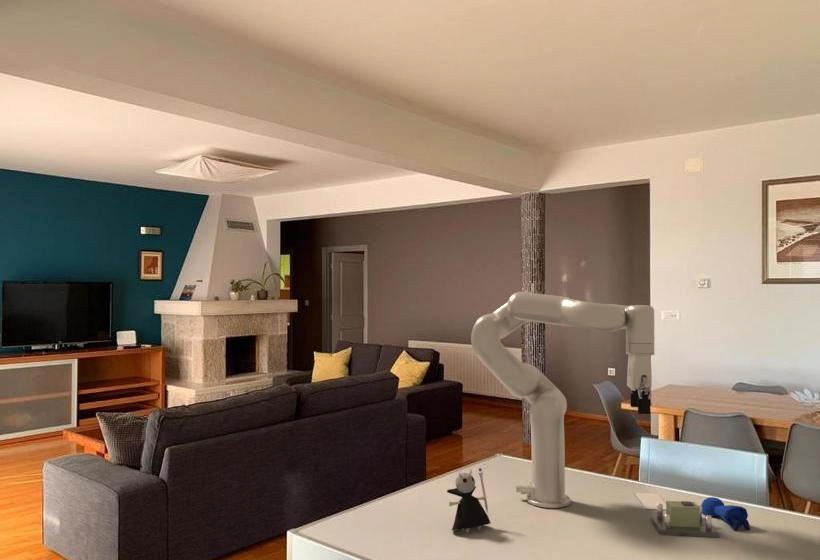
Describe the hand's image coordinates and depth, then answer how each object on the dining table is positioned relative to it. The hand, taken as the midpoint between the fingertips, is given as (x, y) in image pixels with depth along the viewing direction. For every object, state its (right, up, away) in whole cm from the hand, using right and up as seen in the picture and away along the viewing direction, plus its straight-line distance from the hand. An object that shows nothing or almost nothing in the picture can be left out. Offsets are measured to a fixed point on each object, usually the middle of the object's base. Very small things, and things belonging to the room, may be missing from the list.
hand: (640, 410), depth 176 cm
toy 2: (+20, -28, -7) cm, 35 cm away
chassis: (+6, -28, -13) cm, 31 cm away
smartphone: (+6, -29, +8) cm, 31 cm away
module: (+6, -27, -13) cm, 30 cm away
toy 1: (-49, -28, -13) cm, 58 cm away
